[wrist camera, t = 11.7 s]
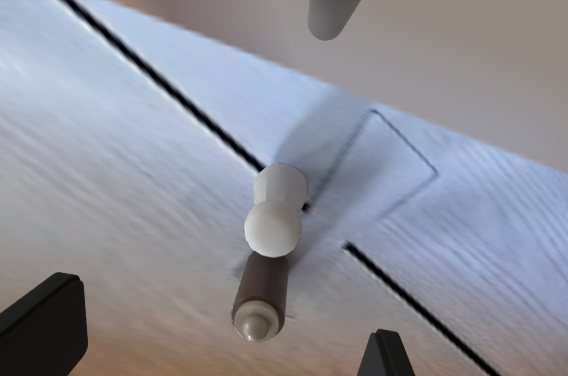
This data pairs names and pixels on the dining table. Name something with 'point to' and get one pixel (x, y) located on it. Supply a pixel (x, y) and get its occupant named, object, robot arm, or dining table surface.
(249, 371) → the dining table surface
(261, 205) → the salt shaker
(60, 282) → the robot arm
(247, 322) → the pepper mill
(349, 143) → the dining table surface
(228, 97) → the dining table surface
